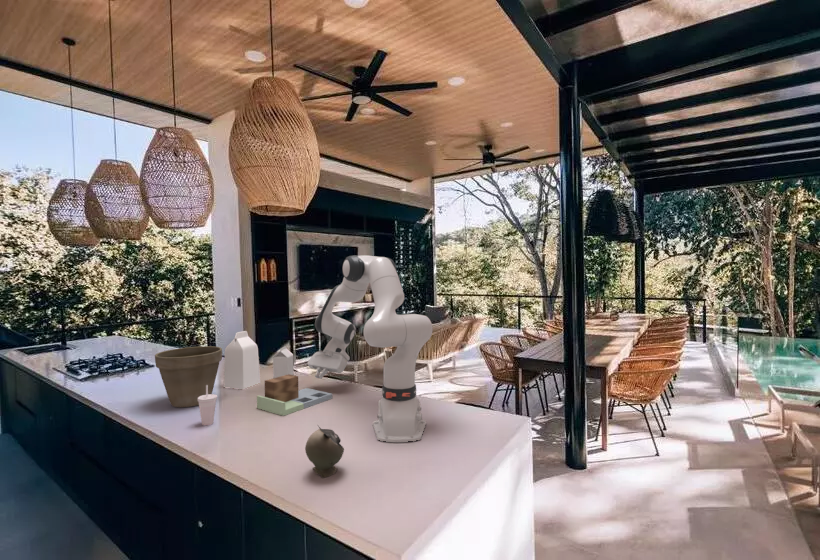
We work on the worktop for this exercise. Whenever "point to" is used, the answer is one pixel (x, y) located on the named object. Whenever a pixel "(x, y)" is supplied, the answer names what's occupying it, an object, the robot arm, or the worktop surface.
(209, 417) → the smoothie
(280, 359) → the milk carton
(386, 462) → the worktop surface
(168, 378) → the plant pot
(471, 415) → the worktop surface
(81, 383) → the worktop surface
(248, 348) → the milk
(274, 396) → the walnut block
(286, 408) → the trap deck
